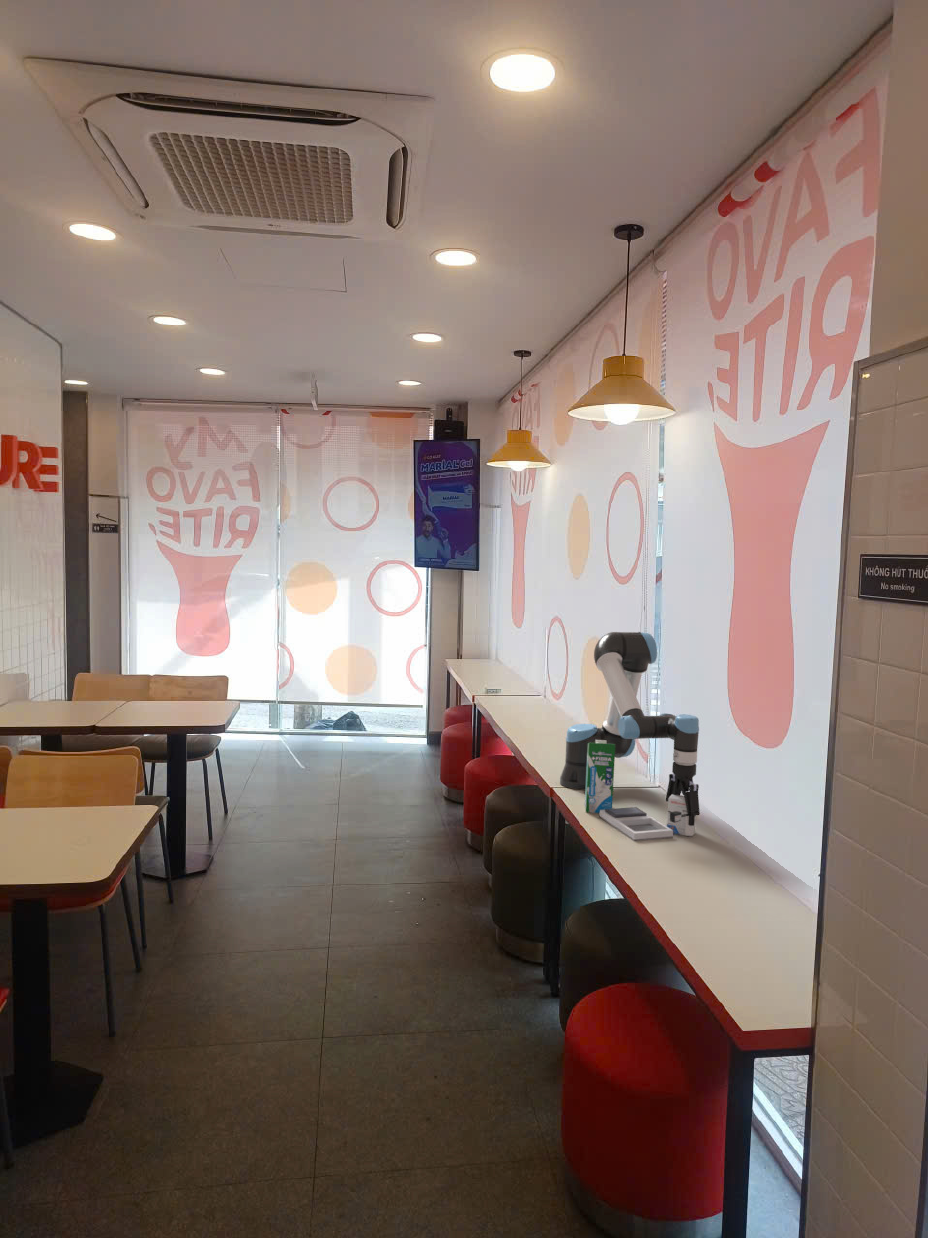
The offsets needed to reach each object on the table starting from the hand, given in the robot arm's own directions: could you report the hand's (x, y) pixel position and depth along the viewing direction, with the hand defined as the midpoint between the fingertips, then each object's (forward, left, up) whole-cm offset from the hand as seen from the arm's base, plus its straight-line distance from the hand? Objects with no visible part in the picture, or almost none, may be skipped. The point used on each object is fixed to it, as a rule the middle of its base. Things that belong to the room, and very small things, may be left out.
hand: (680, 829), depth 273 cm
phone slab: (-15, -12, +2) cm, 19 cm away
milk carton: (-28, -16, -1) cm, 32 cm away
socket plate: (-8, -12, -1) cm, 15 cm away
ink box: (0, 0, -1) cm, 1 cm away
